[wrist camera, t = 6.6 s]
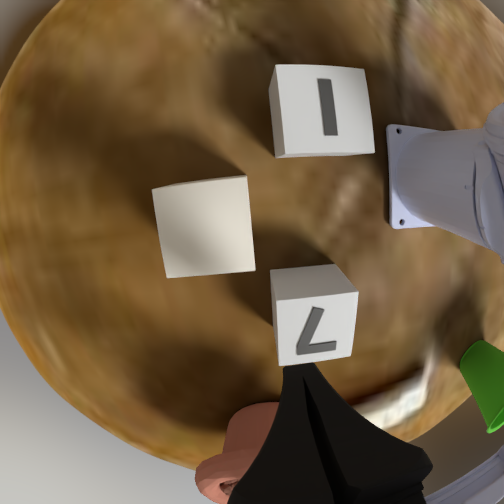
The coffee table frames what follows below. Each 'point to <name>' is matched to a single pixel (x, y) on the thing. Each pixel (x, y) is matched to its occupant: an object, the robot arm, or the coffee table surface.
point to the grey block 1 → (320, 111)
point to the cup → (486, 381)
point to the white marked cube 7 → (312, 313)
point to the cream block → (205, 227)
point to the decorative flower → (236, 451)
